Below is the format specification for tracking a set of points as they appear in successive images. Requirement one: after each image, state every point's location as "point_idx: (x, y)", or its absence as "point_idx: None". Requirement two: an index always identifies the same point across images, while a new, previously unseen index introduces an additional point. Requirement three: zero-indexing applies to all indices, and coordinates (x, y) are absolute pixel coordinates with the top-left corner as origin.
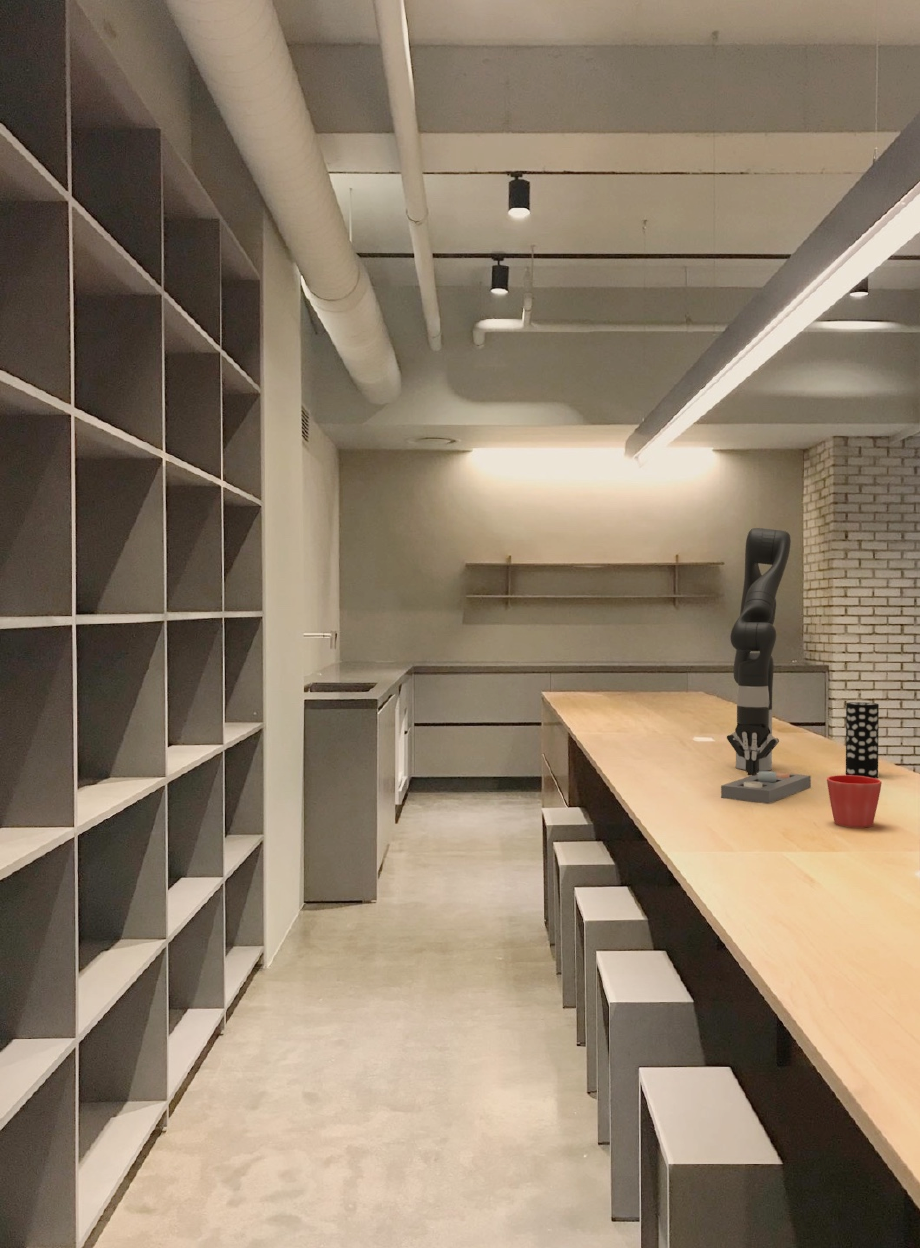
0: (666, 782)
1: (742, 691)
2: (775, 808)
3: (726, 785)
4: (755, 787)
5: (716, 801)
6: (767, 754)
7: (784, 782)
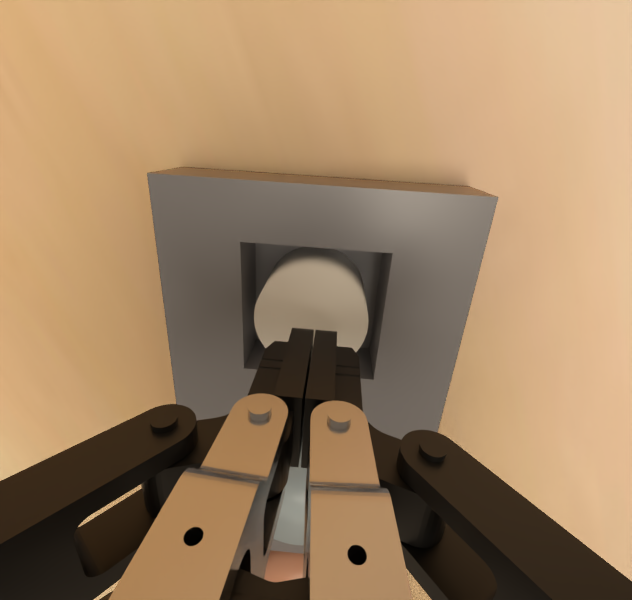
0: None
1: None
2: (85, 36)
3: (462, 217)
4: (279, 271)
5: (472, 42)
6: (130, 500)
7: None
